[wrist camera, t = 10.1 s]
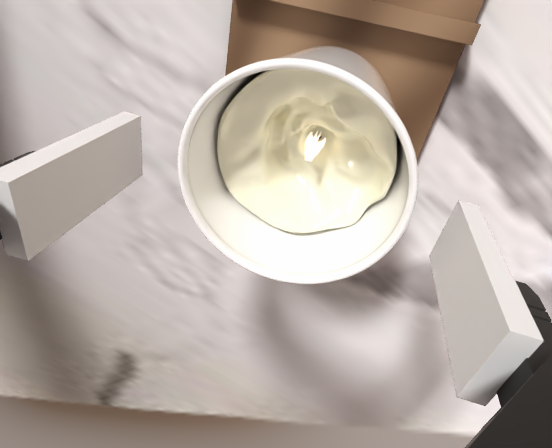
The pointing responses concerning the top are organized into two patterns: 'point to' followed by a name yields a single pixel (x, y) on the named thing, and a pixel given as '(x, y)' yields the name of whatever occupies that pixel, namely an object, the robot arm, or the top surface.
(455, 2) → the brown wooden flat tray
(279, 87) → the candle holder
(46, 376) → the top surface
